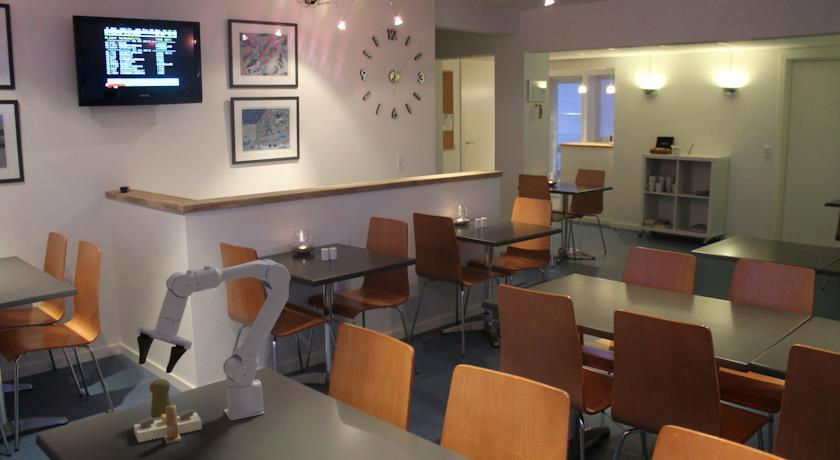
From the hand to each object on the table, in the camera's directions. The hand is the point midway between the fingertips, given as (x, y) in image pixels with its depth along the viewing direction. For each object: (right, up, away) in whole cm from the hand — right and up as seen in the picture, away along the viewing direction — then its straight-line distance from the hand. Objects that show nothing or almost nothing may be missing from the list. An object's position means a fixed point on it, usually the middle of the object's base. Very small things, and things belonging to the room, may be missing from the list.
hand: (154, 368), depth 191 cm
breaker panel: (+2, -17, +4) cm, 18 cm away
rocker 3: (+7, -14, +6) cm, 17 cm away
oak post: (+5, -18, -2) cm, 19 cm away
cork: (-2, -16, +11) cm, 20 cm away
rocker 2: (+2, -15, +3) cm, 15 cm away
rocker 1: (-2, -15, +1) cm, 15 cm away
